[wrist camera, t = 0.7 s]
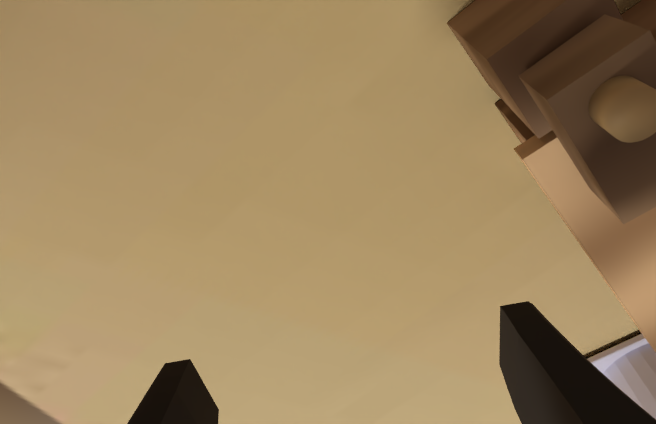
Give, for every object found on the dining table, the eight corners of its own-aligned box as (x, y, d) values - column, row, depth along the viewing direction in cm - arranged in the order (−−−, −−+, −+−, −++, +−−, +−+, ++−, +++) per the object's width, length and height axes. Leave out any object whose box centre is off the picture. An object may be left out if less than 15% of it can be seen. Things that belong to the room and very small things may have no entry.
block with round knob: (669, 141, 14) (745, 192, 11) (589, 188, 14) (644, 246, 12) (604, 14, 12) (678, 40, 9) (518, 75, 13) (564, 115, 10)
